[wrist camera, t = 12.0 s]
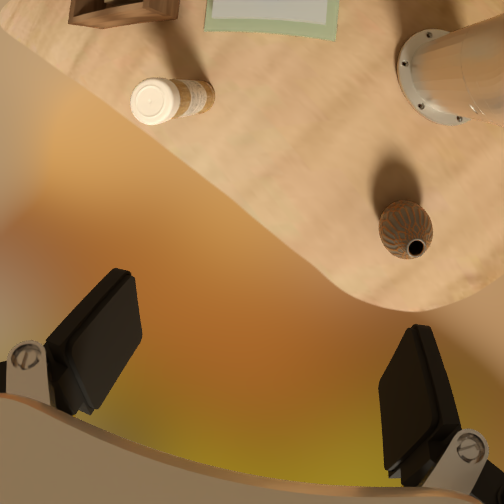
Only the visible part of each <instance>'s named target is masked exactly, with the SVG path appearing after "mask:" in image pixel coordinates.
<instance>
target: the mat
mask: <svg viewBox="0 0 504 504" xmlns="http://www.w3.org/2000/svg"><path fill="white" fill-rule="evenodd" d="M212 8H213V0H208V1H207V9H206V18H205V27H204V31H205V32H254V33H270V34H282V35H292V36H300V37H308V38H316V39H322V40H329V41H336V31H337V21H338V9H339V0H327V14H326V25H322V24H314V23H305V22H295V21H284V20H268V19H214V18H212Z"/></svg>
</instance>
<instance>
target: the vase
mask: <svg viewBox="0 0 504 504" xmlns="http://www.w3.org/2000/svg"><path fill="white" fill-rule="evenodd" d="M379 234H380V238H381V240H382V243H383V245H384V246H385V247H386V249H387V250H388V251H389V252H390V253H392V254H393V255H394V256H396V257H398V258H402V259H414V258H417V257H419V256H421V255H422V254H423V253H424V252H425V251H426V250H427V249H428V248H429V246H430V244H431V241H432V237H433V227H432V223H431V220H430V217H429V216H428V214H427V213H426V211H425V210H424V209H423V208H422V207H421V206H419V205H418V204H416V203H414V202H412V201H407V200H401V201H396V202H394V203H392V204H390V205H389V206H388V207H387V208H386V209H385V210H384V211H383V213H382V215H381V217H380V221H379Z"/></svg>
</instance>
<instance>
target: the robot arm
mask: <svg viewBox="0 0 504 504" xmlns="http://www.w3.org/2000/svg"><path fill="white" fill-rule="evenodd" d="M426 34H427V35H428V36H429V38H428V37H427V36H426ZM402 62H404V63H405V66H403V65H402ZM397 75H398V80H399V84H400V87H401V89H402V92H403V94H404V96H405V97H406V99H407V101H408V102H409V103H410V105H411V106H412V107H413V108H414V109H415V110H416V111H417V112H418V113H419V114H420V115H422V116H423V117H425V118H426V119H428V120H430V121H432V122H435V123H438V124H441V125H448V126H455V125H461V124H464V123H466V122H468V121H470V120H471V119H475V120H479V121H483V122H487V123H490V124H494V125H498V126H501V127H504V13H502V14H500V15H497V16H495V17H492V18H490V19H487V20H484V21H481V22H478V23H475V24H472V25H470V26H467V27H464V28H461V29H459V30H456V31H454V32H449V31H445V30H442V29H427V30H423V31H420V32H418V33H416V34H414V35H413V36H411V37H410V38H409V39H408V40H407V41H406V42H405V43H404V45H403V46H402V48H401V50H400V53H399V56H398V61H397ZM418 104H420V105H421V107H420V108H419V107H418ZM457 116H458V120H457ZM141 339H142V328H141V322H140V315H139V307H138V301H137V292H136V283H135V278H134V277H133V276H131V273H130V272H129V271H126V270H122V269H118V268H114V269H112V270H111V271H110V272H109V273H108V274H107V275H106V276H105V277H104V278H103V279H102V280H101V281H100V282H99V283H98V284H97V285H96V286H95V287H94V288H93V289H92V290H91V292H90V293H89V294H88V295H87V296H86V297H85V298H84V299H83V300H82V301H81V302H80V303H79V304H78V305H77V306H76V307H75V309H73V310H72V312H71V313H70V314H69V315H68V316H67V317H66V318H65V319H64V320H63V321H62V323H61V324H60V325H59V326H58V327H57V328H56V329H55V330H54V331H53V332H52V334H51V335H50V336H49V337H48V338H47V339H46V343H45V344H44V345H43V346H42V344H40V343H39V342H37V341H33V340H30V341H23V342H20V343H19V344H17V345H15V346H14V347H13V348H12V349H11V351H10V352H9V354H8V357H7V361H4V362H0V504H504V473H503V472H502V471H501V470H500V469H499V468H497V467H496V466H495V465H494V464H492V463H491V462H490V461H489V460H487V458H488V454H489V447H488V444H487V441H486V440H485V438H484V437H483V436H482V435H481V434H480V433H479V432H477V431H475V430H473V429H463V430H462V428H461V424H460V420H459V416H458V412H457V409H456V405H455V401H454V397H453V394H452V390H451V387H450V383H449V380H448V377H447V373H446V371H445V368H444V365H443V362H442V359H441V356H440V353H439V350H438V347H437V344H436V341H435V338H434V336H433V332H432V330H431V328H430V327H429V326H425V325H418V324H414V325H413V326H412V327H411V328H408V329H407V330H406V331H405V334H404V336H403V337H402V339H401V341H400V344H399V346H398V348H397V349H396V351H395V354H394V355H393V357H392V359H391V361H390V363H389V365H388V366H387V368H386V370H385V372H384V374H383V375H382V377H381V379H380V382H379V387H378V390H379V400H380V411H381V423H382V436H383V453H384V468H385V470H388V473H389V478H401V484H402V486H401V487H357V486H337V485H336V486H335V485H323V484H312V483H303V482H294V481H287V480H280V479H273V478H267V477H262V476H256V475H250V474H245V473H240V472H235V471H231V470H226V469H222V468H218V467H214V466H210V465H206V464H202V463H198V462H194V461H191V460H187V459H184V458H181V457H177V456H174V455H171V454H167V453H164V452H161V451H158V450H155V449H152V448H149V447H146V446H143V445H141V444H138V443H135V442H133V441H130V440H127V439H125V438H122V437H120V436H117V435H115V434H112V433H110V432H107V431H105V430H103V429H100V428H98V427H96V426H93V425H91V424H88V423H86V422H84V421H82V420H80V419H77V418H76V417H75V414H76V413H77V411H78V410H80V411H82V412H85V413H86V414H89V415H91V414H92V412H93V411H94V409H98V408H99V407H100V406H101V405H102V403H103V401H104V400H105V398H106V396H107V395H108V393H109V391H110V390H111V388H112V387H113V385H114V383H115V382H116V380H117V378H118V377H119V375H120V374H121V372H122V370H123V369H124V367H125V366H126V364H127V362H128V361H129V359H130V357H131V356H132V355H133V353H134V351H135V349H136V348H137V346H138V345H139V344H140V342H141Z"/></svg>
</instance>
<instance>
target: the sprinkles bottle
mask: <svg viewBox="0 0 504 504" xmlns="http://www.w3.org/2000/svg"><path fill="white" fill-rule="evenodd" d="M214 100H215V93H214V90H213V88H212V87H211V85H209V84H208V83H206V82H205V81H200V80H197V81H194V80H183V79H170V80H168V79H166V78H148V79H145V80H143V81H141V82H140V83H139V84H138V85H137V86H136V87H135V89H134V90H133V92H132V95H131V99H130V106H131V110H132V113H133V115H134V116H135V118H136V119H137V120H139V121H140V122H142V123H144V124H147V125H155V124H160V123H164V122H166V121H168V120H170V119H173V118H180V117H185V116H190V115H194V114H201V113H204V112H206V111H208V110H209V109H210V108H211V107H212V105H213V103H214Z"/></svg>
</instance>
